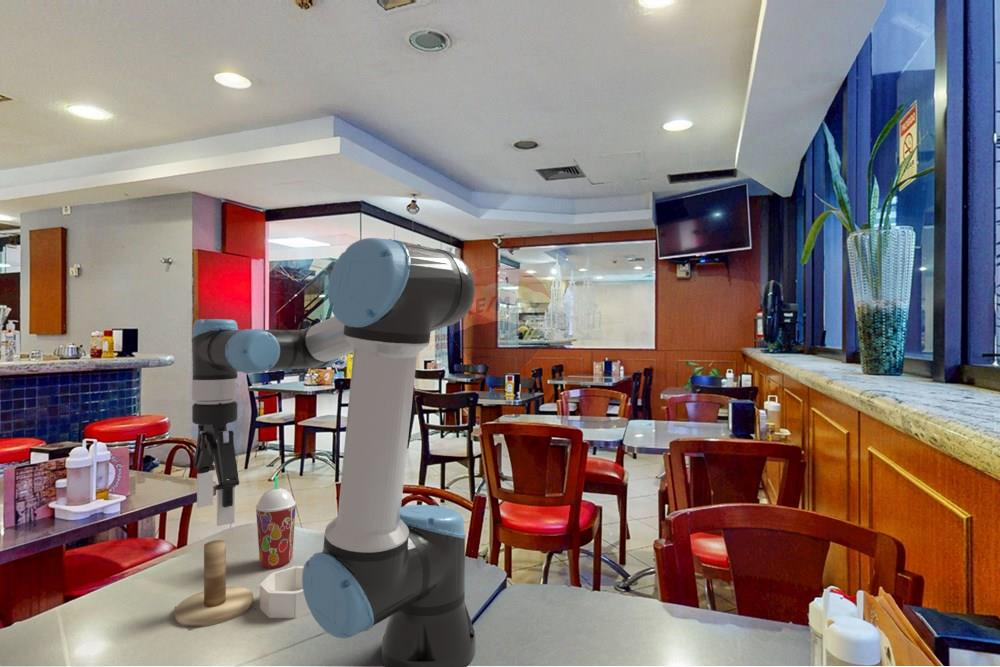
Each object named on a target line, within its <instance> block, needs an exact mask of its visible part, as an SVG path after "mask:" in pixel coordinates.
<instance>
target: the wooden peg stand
mask: <svg viewBox="0 0 1000 667" xmlns="http://www.w3.org/2000/svg"><path fill="white" fill-rule="evenodd" d="M226 545H227V542H226V540H223V539H218V540H217V539H215V540H212V541H207V542H206V543H204V545H203V591H200V592H197V593H195V594H192V595H191V596H189V597H187V598H185V599H183V600H182V601H180V602H179V603H178V604H177V605H176V606H175V607H176V608H175V607H174V620H175V621H176V623H178V624H180V625H182V626H186V627H187V626H202V627H207V626H212V625H217V624H221V623H224V622H227V621H230V620H232V619H235V618H237V617H239V616H241V615H243V614H244V612H245V611H247V610H248V609H249V608H250V607H251V605H253V603H254V594H253V592H252V591H251V590H250V589H248V588H245V587H241V586H227V585H226V584H227V581H226V580H227V579H226V578H227V575H226V574H227V570H226V568H227V563H226V561H227V560H226V559H227V555H226V552H227V550H226V549H227V547H226ZM245 613H246V612H245Z"/></svg>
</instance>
